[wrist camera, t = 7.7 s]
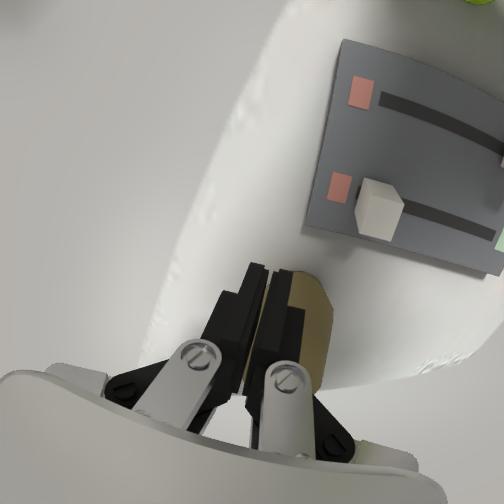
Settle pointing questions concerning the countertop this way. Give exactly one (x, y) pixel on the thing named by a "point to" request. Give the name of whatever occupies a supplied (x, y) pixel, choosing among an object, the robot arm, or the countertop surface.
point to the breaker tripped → (378, 209)
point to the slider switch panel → (414, 157)
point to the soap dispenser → (478, 1)
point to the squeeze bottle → (309, 324)
